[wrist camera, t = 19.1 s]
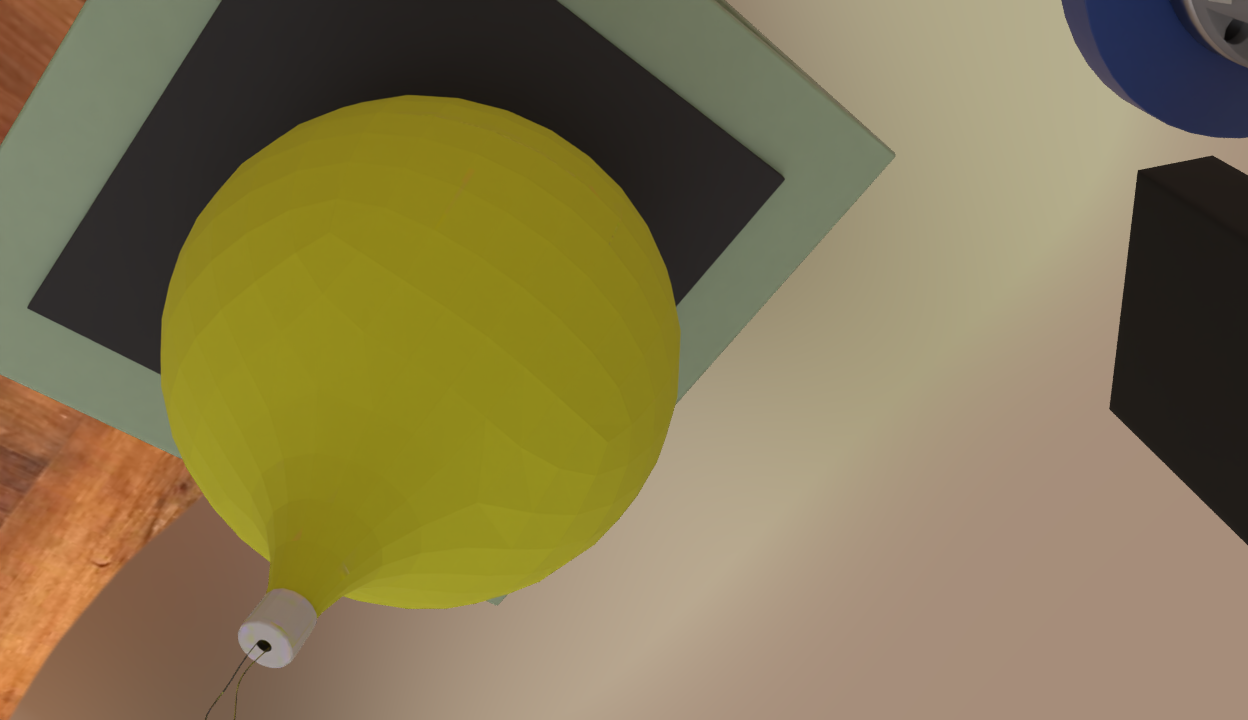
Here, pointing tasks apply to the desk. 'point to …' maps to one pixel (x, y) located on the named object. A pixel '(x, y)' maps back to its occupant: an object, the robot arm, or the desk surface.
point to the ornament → (416, 359)
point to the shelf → (378, 69)
